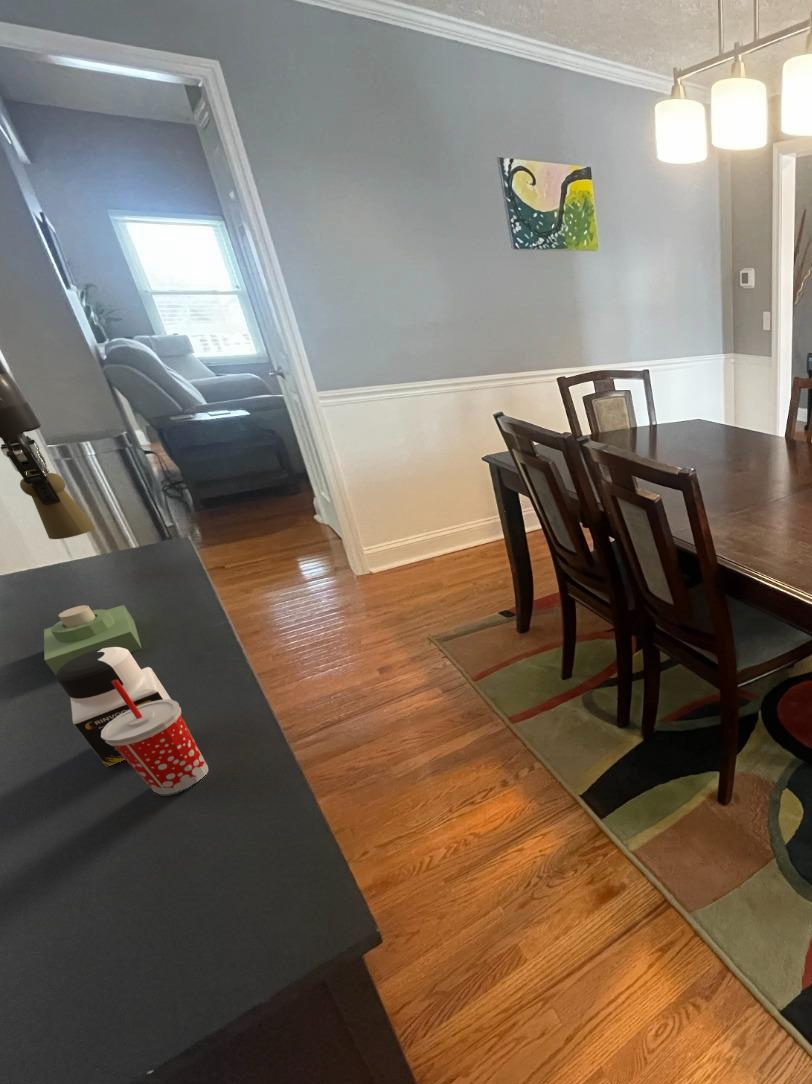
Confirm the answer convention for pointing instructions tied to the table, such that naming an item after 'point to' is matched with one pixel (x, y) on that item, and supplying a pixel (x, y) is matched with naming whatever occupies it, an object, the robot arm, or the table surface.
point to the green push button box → (90, 636)
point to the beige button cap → (77, 616)
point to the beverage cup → (156, 744)
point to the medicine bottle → (106, 693)
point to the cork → (59, 511)
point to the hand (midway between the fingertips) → (52, 499)
